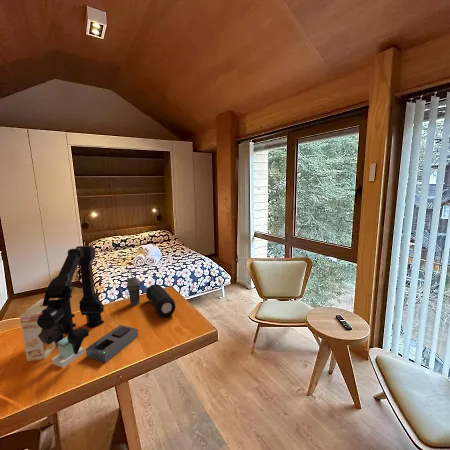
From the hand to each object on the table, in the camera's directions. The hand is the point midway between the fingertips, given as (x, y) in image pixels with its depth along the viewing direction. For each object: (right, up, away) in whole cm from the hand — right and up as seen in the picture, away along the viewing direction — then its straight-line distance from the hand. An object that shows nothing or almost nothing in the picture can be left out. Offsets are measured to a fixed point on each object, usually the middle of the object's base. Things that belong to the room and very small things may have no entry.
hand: (68, 351), depth 98 cm
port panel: (+15, -2, +7) cm, 17 cm away
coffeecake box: (-13, -3, +7) cm, 15 cm away
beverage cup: (+10, +4, +45) cm, 47 cm away
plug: (0, -3, 0) cm, 3 cm away
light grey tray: (0, -3, 0) cm, 3 cm away
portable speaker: (+26, +3, +40) cm, 48 cm away
